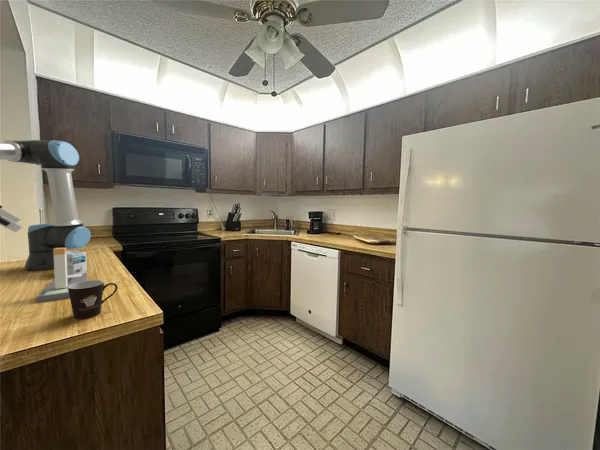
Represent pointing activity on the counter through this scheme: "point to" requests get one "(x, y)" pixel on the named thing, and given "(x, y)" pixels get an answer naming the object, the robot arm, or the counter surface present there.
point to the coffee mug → (87, 298)
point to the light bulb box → (76, 263)
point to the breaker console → (61, 293)
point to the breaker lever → (60, 268)
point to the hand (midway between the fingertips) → (18, 225)
